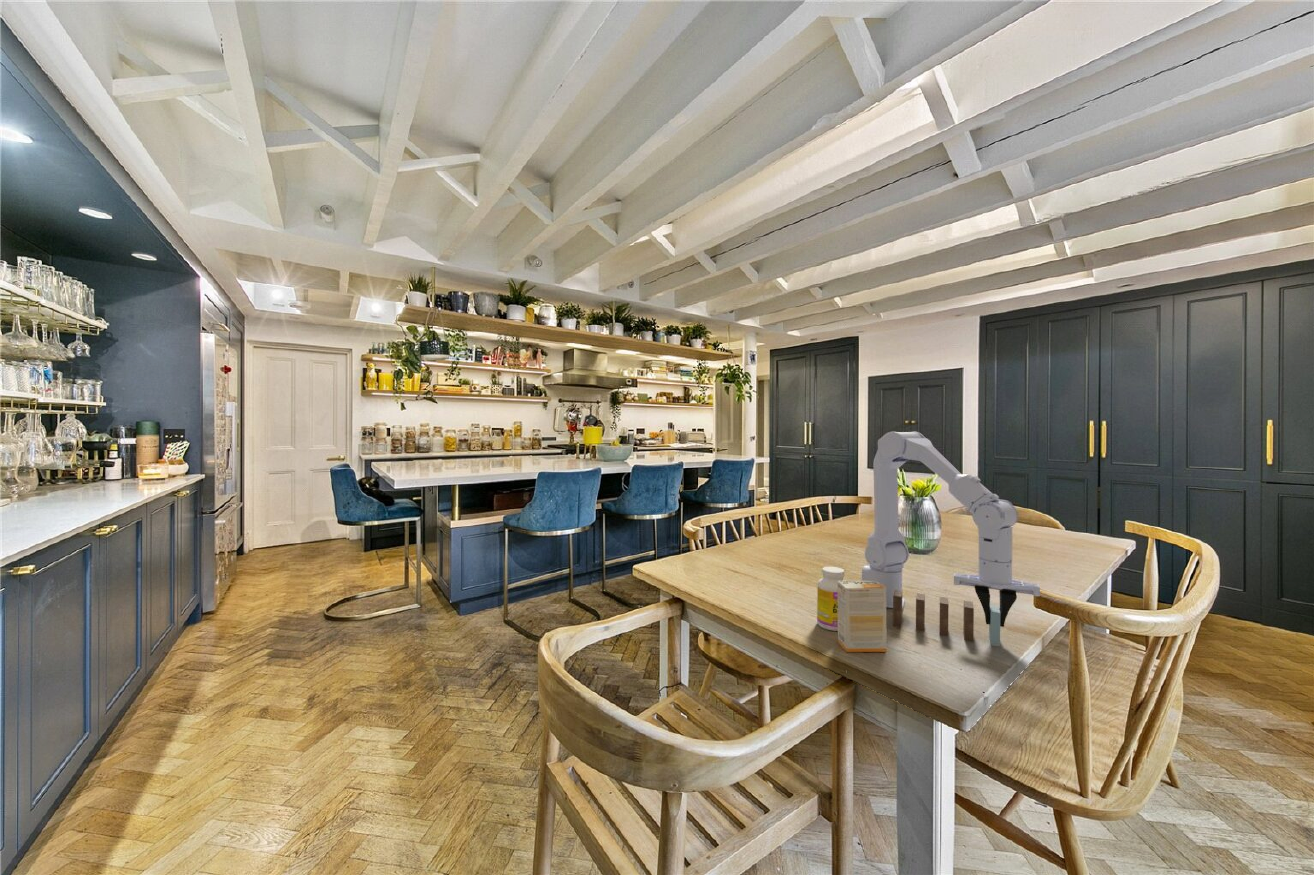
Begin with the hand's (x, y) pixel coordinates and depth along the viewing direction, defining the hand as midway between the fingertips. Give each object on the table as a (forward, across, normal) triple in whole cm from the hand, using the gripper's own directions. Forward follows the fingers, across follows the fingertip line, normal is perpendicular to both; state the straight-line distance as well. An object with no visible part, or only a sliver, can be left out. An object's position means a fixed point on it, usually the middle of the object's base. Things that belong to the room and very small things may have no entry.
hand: (994, 623), depth 99 cm
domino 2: (+4, -14, 0) cm, 14 cm away
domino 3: (+4, -9, 0) cm, 10 cm away
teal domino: (+4, 0, 0) cm, 4 cm away
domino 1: (+4, -18, 0) cm, 18 cm away
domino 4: (+4, -4, 0) cm, 6 cm away
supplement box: (+4, -24, -17) cm, 29 cm away
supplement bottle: (+4, -31, -9) cm, 32 cm away
